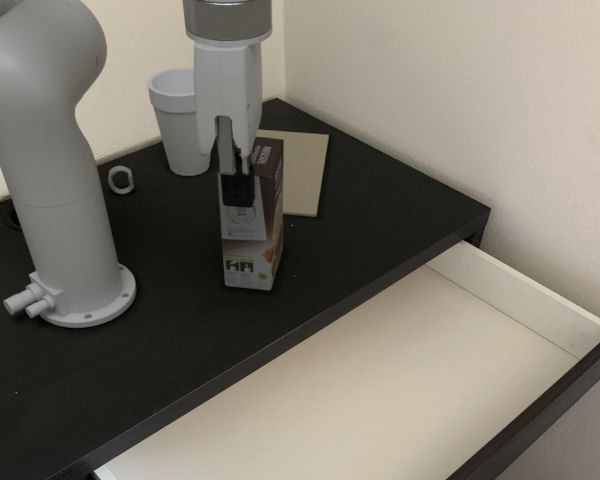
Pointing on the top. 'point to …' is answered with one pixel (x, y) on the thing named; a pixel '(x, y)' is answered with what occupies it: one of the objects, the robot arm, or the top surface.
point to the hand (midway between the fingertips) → (239, 202)
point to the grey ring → (130, 178)
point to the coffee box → (255, 222)
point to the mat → (301, 170)
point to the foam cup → (177, 119)
